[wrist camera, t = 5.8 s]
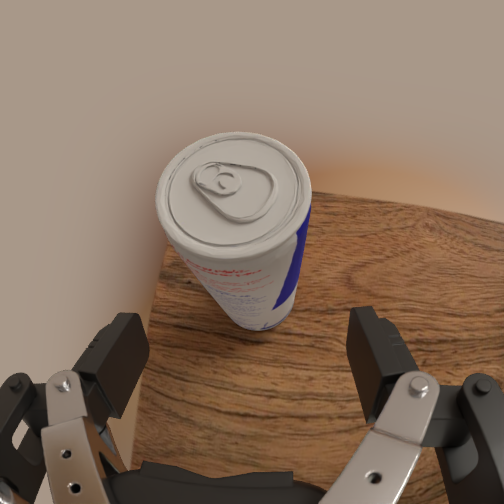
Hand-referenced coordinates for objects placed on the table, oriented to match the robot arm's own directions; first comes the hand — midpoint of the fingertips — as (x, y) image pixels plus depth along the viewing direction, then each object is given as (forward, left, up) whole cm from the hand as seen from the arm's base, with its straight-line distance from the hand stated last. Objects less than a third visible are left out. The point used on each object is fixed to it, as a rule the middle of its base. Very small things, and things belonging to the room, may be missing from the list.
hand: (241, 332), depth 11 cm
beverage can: (+1, +4, -12) cm, 13 cm away
